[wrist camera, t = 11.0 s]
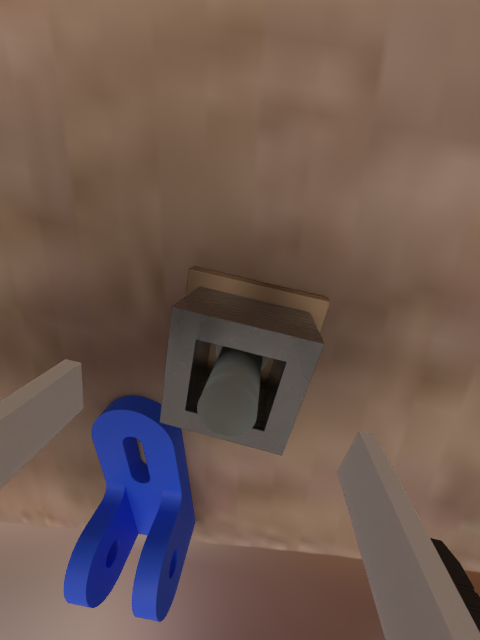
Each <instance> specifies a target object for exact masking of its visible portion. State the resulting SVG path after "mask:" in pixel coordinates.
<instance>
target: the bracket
mask: <svg viewBox="0 0 480 640" xmlns="http://www.w3.org/2000/svg"><path fill="white" fill-rule="evenodd" d="M161 407H162V405H161V404H159V403H157V402H155V401H153V400H151V399H148V398H144V397H139V396H127V397H122V398H119V399H117V400H115V401H114V402H113V403H111V404H110V405H109V407H108V408H107V409H106V410H105V411H104V412H103V413H102V414H101V415H100V416H99V417H98V418H97V419H96V421H95V422H94V424H93V427H92V438H93V442H94V445H95V448H96V451H97V455H98V458H99V461H100V464H101V467H102V470H103V473H104V476H105V480H106V484H107V486H106V492H105V495H104V498H103V500H102V502H101V504H100V505H99V507H98V508H97V510H96V511H95V513H94V514H93V516H92V518H91V519H90V521H89V522H88V524H87V525H86V527H85V529H84V530H83V532H82V534H81V535H80V537H79V539H78V542H77V543H76V546H75V548H74V550H73V552H72V555H71V558H70V561H69V564H68V567H67V571H66V575H65V580H64V596H65V599H66V601H67V602H68V603H71V604H76V605H81V606H85V607H90V608H95V607H97V606H99V605H100V604H101V603H102V602H103V601H104V600H105V599H106V597H107V596H108V595H109V593H110V592H111V590H112V589H113V587H114V585H115V583H116V581H117V579H118V578H119V575H120V573H121V571H122V569H123V566H124V564H125V562H126V560H127V558H128V556H129V553H130V551H131V549H132V547H133V544H134V542H135V540H136V538H137V536H138V534H145V535H148V536H147V538H146V541H145V544H144V546H143V550H142V552H141V556H140V559H139V562H138V566H137V570H136V575H135V580H134V586H133V593H132V610H133V614H134V616H135V617H139V618H144V619H149V620H154V621H159V622H161V621H162V620H163V619H164V618H165V617H166V615H167V613H168V611H169V609H170V607H171V604H172V601H173V599H174V596H175V593H176V590H177V586H178V583H179V579H180V575H181V572H182V568H183V564H184V560H185V557H186V554H187V550H188V546H189V542H190V539H191V535H192V532H193V528H194V524H195V518H194V511H193V504H192V498H191V491H190V484H189V478H188V471H187V465H186V458H185V451H184V445H183V438H182V432H181V428H178V427H175V426H171V425H167V424H164V423H160V417H161ZM136 439H138V440H139V441H140V442H141V443H142V445H143V449H144V453H145V457H146V462H147V465H146V464H144V463H143V462H142V460H141V458H140V453H139V449H138V445H137V441H136Z"/></svg>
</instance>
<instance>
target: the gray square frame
mask: <svg viewBox="0 0 480 640" xmlns="http://www.w3.org/2000/svg"><path fill="white" fill-rule="evenodd" d="M211 343H213V344H217V345H221V346H225V347H229V348H233V349H237V350H241V351H245V352H249V353H253V354H257V355H261V356H265V357H269V358H273V359H274V360H273V363H272V367H271V370H270V373H269V377H268V380H267V383H265V382H262V381H260V389H259V400H258V410H257V419H256V422H255V424H254V426H253V427H252V428H251V429H250V430H249V431H248V432H246V433H244V434H241V435H238V436H224V435H220V434H217V433H215V432H213V431H211V430H210V429H208V428H207V427H206V426H205V425H204V424H203V423H202V421H201V420H200V418H199V416H198V412H197V404H198V401H199V399H200V397H201V394H202V392H203V390H204V388H205V385H206V383H207V381H208V379H209V376H210V374H211V372H212V370H213V369H211V368H207V362H208V356H209V351H210V345H211ZM323 346H324V342H323V340H322V338H321V335H320V333H319V331H318V329H317V326H316V324H315V322H314V320H313V317H312V315H311V313H310V312H306V311H302V310H298V309H294V308H289V307H285V306H281V305H277V304H273V303H268V302H264V301H260V300H256V299H252V298H247V297H243V296H239V295H235V294H231V293H226V292H222V291H218V290H214V289H210V288H205V287H201V286H199V287H198V288H197V289H195V290H194V291H193V292H191V293H190V294H189V295H187V296H186V297H185V298H183V299H182V300H180V301H179V302H178V303H176V304H175V305H174V306H172V310H171V320H170V330H169V339H168V349H167V359H166V368H165V378H164V388H163V397H162V407H161V417H160V423H164V424H167V425H171V426H175V427H178V428H182V429H186V430H189V431H193V432H197V433H201V434H204V435H208V436H212V437H215V438H219V439H223V440H226V441H230V442H234V443H237V444H241V445H245V446H248V447H252V448H256V449H259V450H263V451H267V452H270V453H274V454H278V455H281V456H282V454H283V451H284V449H285V446H286V443H287V441H288V438H289V436H290V433H291V430H292V428H293V425H294V422H295V420H296V417H297V415H298V412H299V409H300V407H301V404H302V401H303V399H304V396H305V394H306V391H307V388H308V386H309V383H310V380H311V378H312V375H313V372H314V370H315V367H316V365H317V362H318V359H319V357H320V354H321V351H322V349H323Z"/></svg>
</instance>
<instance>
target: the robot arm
mask: <svg viewBox="0 0 480 640" xmlns="http://www.w3.org/2000/svg"><path fill="white" fill-rule="evenodd" d="M83 409H84V405H83V385H82V366H81V363H80V362H76V361H72V360H68V359H65V360H63V361H62V362H60V363H59V364H57V365H56V366H54V367H52V368H51V369H49V370H48V371H46V372H45V373H43V374H42V375H40V376H38V377H37V378H35V379H34V380H32V381H31V382H29V383H27V384H26V385H24V386H23V387H21V388H20V389H18V390H17V391H15V392H13V393H12V394H10V395H9V396H7V397H6V398H4V399H2V400H1V401H0V489H1V488H2V487H3V486H4V485H5V484H6V483H7V482H8V481H9V480H10V479H11V478H12V477H13V476H14V475H16V474H17V473H18V472H19V471H20V470H21V469H22V468H23V467H24V466H25V465H26V464H27V463H28V462H29V461H30V460H31V459H32V458H33V457H34V456H35V455H36V454H37V453H38V452H39V451H40V450H41V449H42V448H43V447H44V446H45V445H46V444H47V443H49V442H50V441H51V440H52V439H53V438H54V437H55V436H56V435H57V434H58V433H59V432H60V431H61V430H62V429H63V428H64V427H65V426H66V425H67V424H68V423H69V422H70V421H71V420H72V419H73V418H74V417H75V416H76V415H77V414H78V413H79V412H80V411H81V410H83ZM337 472H338V476H339V479H340V483H341V486H342V489H343V493H344V496H345V500H346V503H347V507H348V510H349V514H350V517H351V521H352V524H353V528H354V531H355V535H356V538H357V542H358V545H359V549H360V552H361V556H362V559H363V562H364V566H365V570H366V573H367V576H368V580H369V584H370V587H371V591H372V594H373V598H374V601H375V605H376V608H377V611H378V615H379V618H380V622H381V625H382V629H383V632H384V636H385V639H386V640H480V597H479V596H478V594H477V593H475V591H474V587H473V585H472V583H471V582H470V580H469V578H468V576H467V575H466V573H465V571H464V569H463V568H462V566H461V564H460V563H459V561H458V560H457V559H456V558H455V557H454V555H453V554H452V553H451V552H450V550H449V549H448V548H447V547H446V546H445V544H444V543H443V542H442V541H440V540H436V539H432V538H430V537H429V535H428V533H427V531H426V529H425V528H424V526H423V524H422V522H421V520H420V518H419V516H418V514H417V512H416V510H415V508H414V507H413V505H412V503H411V501H410V499H409V497H408V495H407V493H406V491H405V489H404V488H403V486H402V484H401V482H400V480H399V478H398V476H397V474H396V472H395V470H394V469H393V467H392V465H391V463H390V461H389V459H388V457H387V455H386V453H385V451H384V450H383V448H382V446H381V444H380V442H379V440H378V438H377V436H376V435H375V434H371V433H367V432H363V431H358V433H357V435H356V437H355V439H354V441H353V443H352V445H351V447H350V448H349V450H348V452H347V454H346V456H345V458H344V460H343V462H342V464H341V466H340V468H339V469H338V471H337Z"/></svg>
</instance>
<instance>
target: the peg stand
mask: <svg viewBox="0 0 480 640" xmlns="http://www.w3.org/2000/svg"><path fill="white" fill-rule="evenodd" d="M199 286H201V287H205V288H210V289H214V290H218V291H222V292H226V293H231V294H235V295H239V296H243V297H247V298H252V299H256V300H260V301H264V302H268V303H273V304H277V305H281V306H285V307H289V308H294V309H298V310H302V311H306V312H310V313H311V315H312V317H313V320H314V322H315V324H316V326H317V329H318V331H319V332H320V330H321V327H322V324H323V322H324V319H325V316H326V313H327V311H328V308H329V305H330V301H329V300H328V298H327V297H322V296H318V295H314V294H310V293H305V292H301V291H297V290H293V289H288V288H284V287H280V286H275V285H271V284H267V283H263V282H258V281H254V280H250V279H246V278H241V277H237V276H233V275H229V274H224V273H220V272H216V271H212V270H207V269H203V268H199V267H192V268H190V269H189V274H188V282H187V290H186V296H187V295H189V294H190V293H191V292H193V291H194V290H195V289H197V288H198V287H199ZM273 360H274V359H273V358H269V357H265V356H261V355H257V354H253V353H249V352H245V351H241V350H237V349H233V348H229V347H225V346H221V345H217V344H213V343H211V345H210V351H209V356H208V362H207V368H211V369H213V370H212V372H211V374H210V376H209V379H208V381H207V383H206V385H205V388H204V390H203V392H202V394H201V397H200V399H199V401H198V404H197V412H198V416H199V418H200V420H201V421H202V423H203V424H204V425H205V426H206V427H207V428H208V429H210V430H211V431H213V432H215V433H217V434H220V435H224V436H238V435H241V434H244V433H246V432H248V431H249V430H250V429H251V428H252V427H253V426H254V424H255V422H256V419H257V410H258V400H259V389H260V381H262V382H265V383H267V380H268V377H269V373H270V370H271V367H272V363H273Z"/></svg>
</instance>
